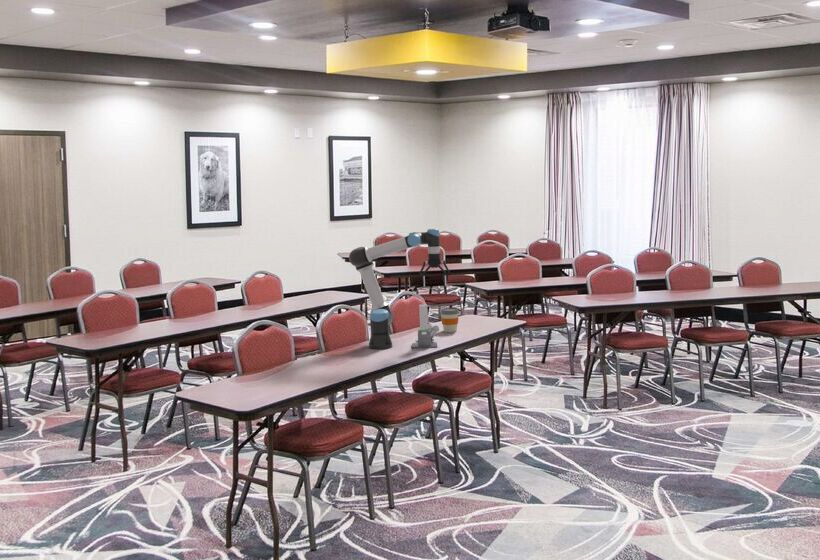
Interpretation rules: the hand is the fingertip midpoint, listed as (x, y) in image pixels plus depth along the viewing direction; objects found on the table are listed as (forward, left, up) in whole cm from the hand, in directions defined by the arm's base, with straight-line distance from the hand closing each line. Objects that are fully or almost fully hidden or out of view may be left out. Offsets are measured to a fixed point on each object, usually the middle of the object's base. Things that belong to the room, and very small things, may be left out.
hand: (435, 286), depth 556 cm
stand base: (-8, -10, -37) cm, 39 cm away
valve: (-7, +7, -37) cm, 38 cm away
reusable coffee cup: (+10, +41, -37) cm, 56 cm away
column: (-8, -10, -28) cm, 31 cm away
